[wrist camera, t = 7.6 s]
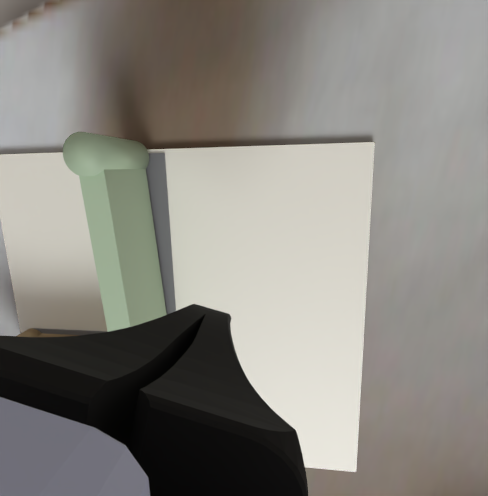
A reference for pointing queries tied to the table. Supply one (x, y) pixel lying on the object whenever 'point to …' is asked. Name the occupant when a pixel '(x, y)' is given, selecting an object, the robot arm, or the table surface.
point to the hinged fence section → (119, 225)
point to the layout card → (225, 266)
